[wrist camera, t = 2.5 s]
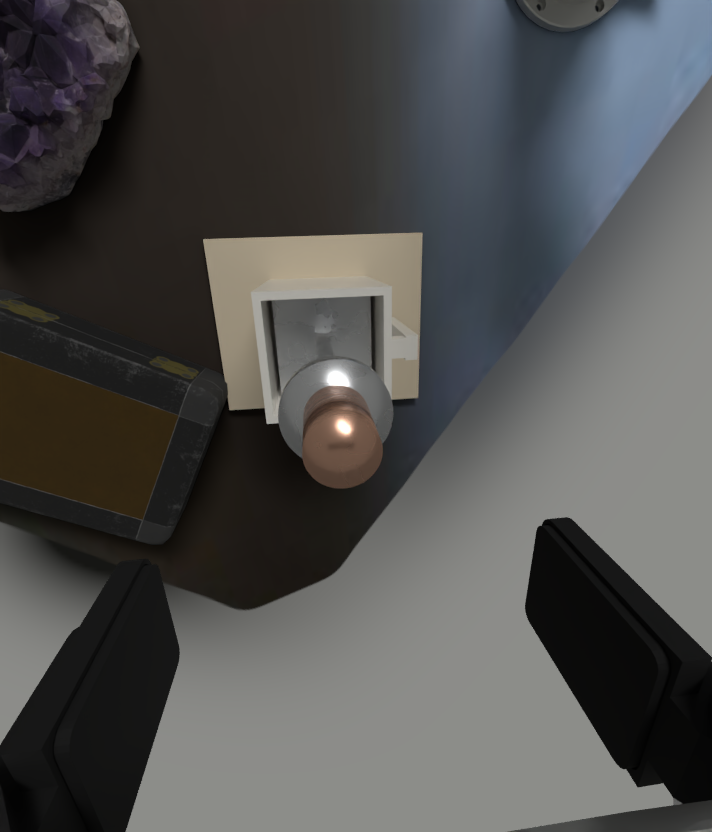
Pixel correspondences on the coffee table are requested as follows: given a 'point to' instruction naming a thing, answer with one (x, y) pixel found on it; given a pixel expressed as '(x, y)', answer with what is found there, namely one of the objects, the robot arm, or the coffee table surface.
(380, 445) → the plunger
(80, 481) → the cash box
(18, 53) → the geode
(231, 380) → the square white mug
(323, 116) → the coffee table surface
